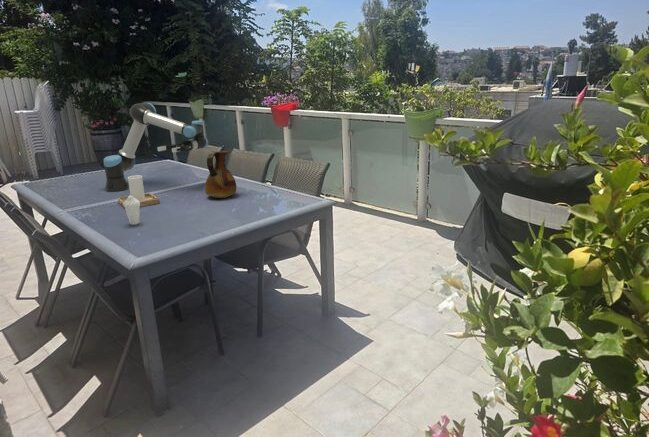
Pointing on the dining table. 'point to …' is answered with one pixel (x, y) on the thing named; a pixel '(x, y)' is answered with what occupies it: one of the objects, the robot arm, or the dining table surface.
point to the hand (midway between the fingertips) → (164, 149)
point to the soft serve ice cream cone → (132, 209)
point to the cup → (136, 187)
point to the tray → (149, 201)
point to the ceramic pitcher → (219, 177)
